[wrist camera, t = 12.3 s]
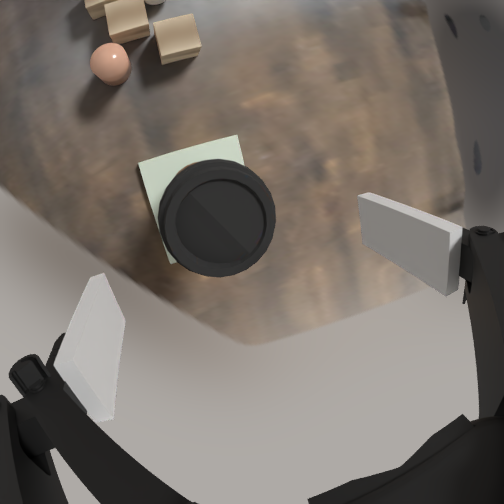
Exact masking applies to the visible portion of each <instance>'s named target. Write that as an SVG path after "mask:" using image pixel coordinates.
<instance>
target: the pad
mask: <svg viewBox="0 0 504 504" xmlns="http://www.w3.org/2000/svg"><path fill="white" fill-rule="evenodd" d="M211 159H224V160H231V161H235V162H237V163H239V164H242V165H244V161H243V157H242V153H241V149H240V145H239V141H238V136H237V135H234V136H230V137H225V138H222V139H218V140H214V141H210V142H206V143H203V144H199V145H195V146H192V147H188V148H185V149H181V150H178V151H174V152H171V153H168V154H164V155H161V156H158V157H155V158H152V159H149V160H145V161H142V162H139V163H138V164H139V168H140V171H141V174H142V178H143V181H144V185H145V188H146V191H147V194H148V198H149V201H150V204H151V207H152V211H153V214H154V217H155V220H156V223H157V226H158V229H159V224H158V211H159V203H160V200H161V198H162V196H163V193H164V191H165V189H166V187H167V186H168V185H169V183H170V182H171V181H172V179H173V178H174V177H175V175H176V174H177V173H178V172H179V171H180V170H181V169H182V168H184V167H185V166H187V165H189V164H192V163H194V162H200V161H203V160H211ZM159 232H160V231H159ZM162 241H163V240H162ZM163 244H164V242H163ZM164 247H165V250H166V253H167V256H168V259H169V262H170V264H173V263H176V262H177V261H176V260H175V259H174V258H173V257H172V256H171V254H170V253H169V252H168V251H167V249H166V246H165V244H164Z"/></svg>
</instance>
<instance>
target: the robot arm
mask: <svg viewBox="0 0 504 504" xmlns="http://www.w3.org/2000/svg"><path fill="white" fill-rule="evenodd" d="M357 197H358V205H359V214H360V223H361V233H362V244H364V245H366V246H367V247H369V248H371V249H372V250H374V251H375V252H377V253H379V254H380V255H382V256H384V257H385V258H387V259H388V260H390V261H392V262H393V263H395V264H396V265H398V266H400V267H401V268H403V269H404V270H406V271H408V272H409V273H411V274H412V275H414V276H415V277H417V278H419V279H420V280H422V281H423V282H425V283H426V284H428V285H429V286H431V287H432V288H434V289H435V290H437V291H438V292H440V293H441V294H443V295H445V296H448V295H450V294H451V293H453V292H455V291H457V290H458V285H459V276H460V277H462V278H464V279H465V280H466V281H465V289H464V297H463V304H465V301H466V300H467V303H468V308H469V314H470V320H471V326H472V333H473V340H474V348H475V357H476V365H477V378H478V392H479V419H477V420H473V421H471V422H470V421H469V420H468V419H467V418H466V417H465V416H464V415H463V414H462V415H461V416H459V417H458V418H457V419H455V420H454V421H452V422H451V423H450V424H448V425H447V426H446V427H444V428H442V429H441V430H440V431H438V432H437V433H435V434H434V435H432V436H431V437H430V438H429V439H428V440H427V441H426V442H425V443H424V444H423V446H421V447H420V448H419V449H418V450H417V451H416V452H415V454H414V455H413V456H411V458H409V459H408V460H407V461H406V462H405V463H404V464H403V465H402V466H400V467H398V468H396V469H393V470H389V471H386V472H383V473H379V474H375V475H372V476H368V477H364V478H360V479H356V480H352V481H349V482H347V483H345V484H343V485H341V486H338V487H336V488H334V489H331V490H329V491H327V492H324V493H322V494H319V495H317V496H314V497H312V498H309V499H308V502H309V504H504V232H503V233H498V232H497V231H496V230H495V229H493V228H490V227H487V226H475V227H473V228H471V229H470V230H467V229H465V228H462V227H461V226H459V225H456V224H454V223H451V222H449V221H446V220H444V219H441V218H439V217H436V216H434V215H431V214H428V213H426V212H423V211H420V210H418V209H415V208H412V207H410V206H407V205H404V204H401V203H399V202H396V201H393V200H390V199H387V198H384V197H382V196H379V195H376V194H373V193H370V192H368V193H365V194H361V195H357ZM125 323H126V320H125V318H124V316H123V314H122V311H121V309H120V307H119V305H118V303H117V301H116V298H115V297H114V294H113V292H112V289H111V287H110V285H109V283H108V280H107V278H106V276H105V273H102V274H99V275H96V276H93V277H90V280H89V281H88V284H87V286H86V288H85V290H84V292H83V294H82V297H81V299H80V301H79V303H78V306H77V308H76V310H75V312H74V315H73V317H72V319H71V322H70V324H69V327H68V329H67V331H66V333H63V334H62V335H61V336H60V337H59V338H58V339H57V340H56V342H55V343H54V346H53V348H52V351H51V353H50V356H49V357H50V358H48V361H47V363H46V366H45V365H44V364H43V362H42V361H41V359H40V358H39V356H37V355H36V354H30V355H27V356H25V357H23V358H21V359H20V360H18V361H17V362H16V363H15V364H14V365H13V366H12V368H11V369H10V372H9V378H10V380H11V381H12V383H13V384H14V385H15V387H16V388H17V389H18V391H19V392H20V393H21V394H22V395H23V397H24V398H22V399H20V400H18V401H16V402H13V403H10V402H9V401H8V400H7V398H6V397H5V396H3V395H0V504H68V501H67V499H66V496H65V494H64V491H63V489H62V486H61V483H60V480H59V477H58V474H57V472H56V469H55V466H54V462H53V459H52V456H51V453H50V450H51V449H53V448H56V449H57V450H58V452H59V453H60V454H61V456H62V457H63V459H64V460H65V461H66V463H67V464H68V465H69V466H70V468H71V469H72V470H73V472H74V473H75V474H76V475H77V477H78V478H79V479H80V480H81V481H82V483H83V484H84V485H85V486H86V487H87V489H88V490H89V491H90V492H91V493H92V494H93V496H94V497H95V498H96V499H97V500H98V501H99V502H100V503H101V504H197V503H196V502H191V501H189V500H187V499H186V498H185V497H183V496H182V495H180V494H179V493H177V492H176V491H175V490H173V489H172V488H171V487H169V486H168V485H167V484H165V483H164V482H162V481H161V480H160V479H159V478H157V477H156V476H155V475H153V474H152V473H151V472H149V471H148V470H147V469H146V468H145V467H143V466H142V465H141V464H140V463H138V462H137V461H136V460H135V459H134V458H133V457H131V456H130V455H129V454H128V453H127V452H126V451H124V450H123V449H122V448H121V447H120V446H119V445H118V444H116V443H115V442H114V441H113V440H112V439H111V438H110V437H109V436H108V435H107V434H106V433H105V432H104V431H103V430H101V428H100V427H98V426H97V425H96V424H95V423H94V422H93V421H92V420H91V419H90V418H89V417H88V416H87V412H88V414H89V415H90V416H91V417H92V419H93V420H94V421H95V422H101V421H106V420H112V419H114V412H115V400H116V390H117V381H118V373H119V364H120V357H121V348H122V342H123V335H124V329H125Z"/></svg>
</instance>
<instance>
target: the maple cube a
mask: <svg viewBox="0 0 504 504" xmlns="http://www.w3.org/2000/svg"><path fill="white" fill-rule="evenodd" d="M84 1H85V7H86V9H87V11H88V13H89V14H90V16H91V17H92V19H93V20H95V19H97V18H100V17H103V16H105V15H106V12H105V6H104V5H105V4H108V3H111V2H115V1H118V0H84Z"/></svg>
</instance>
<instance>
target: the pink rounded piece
mask: <svg viewBox="0 0 504 504" xmlns="http://www.w3.org/2000/svg"><path fill="white" fill-rule="evenodd" d="M90 67H91V70H92V71H93V73H94V74H95V75H97V76H98V77H99V78H100V79H101V80H102V81H103V82H104V83H106V84H107V85H111V86H116V85H120V84H122V83H124V82H125V81H126V80H127V79H128V78H129V76H130V74H131V71H132V65H131V63H130V60H129V58H128V56H127V54H126V52H125V50H124V48H123V47H122V46H121V45H119V44H116V43H107V44H104V45H102V46H100V47H99V48H97V49H96V50H95V51H94V53H93V54H92V57H91V60H90Z"/></svg>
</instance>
